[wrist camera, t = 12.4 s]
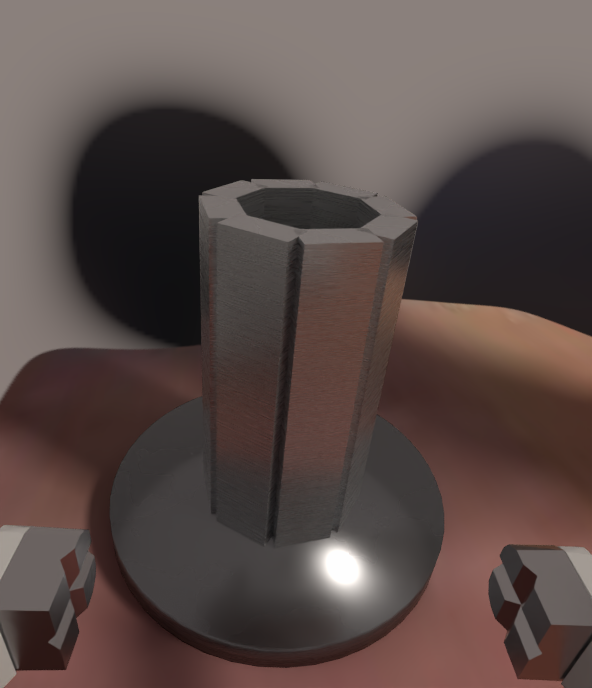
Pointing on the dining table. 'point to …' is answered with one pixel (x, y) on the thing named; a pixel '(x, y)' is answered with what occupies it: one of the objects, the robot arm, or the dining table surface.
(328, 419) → the octagonal pipe segment
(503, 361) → the dining table surface
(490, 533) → the dining table surface
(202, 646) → the grey pot lid
